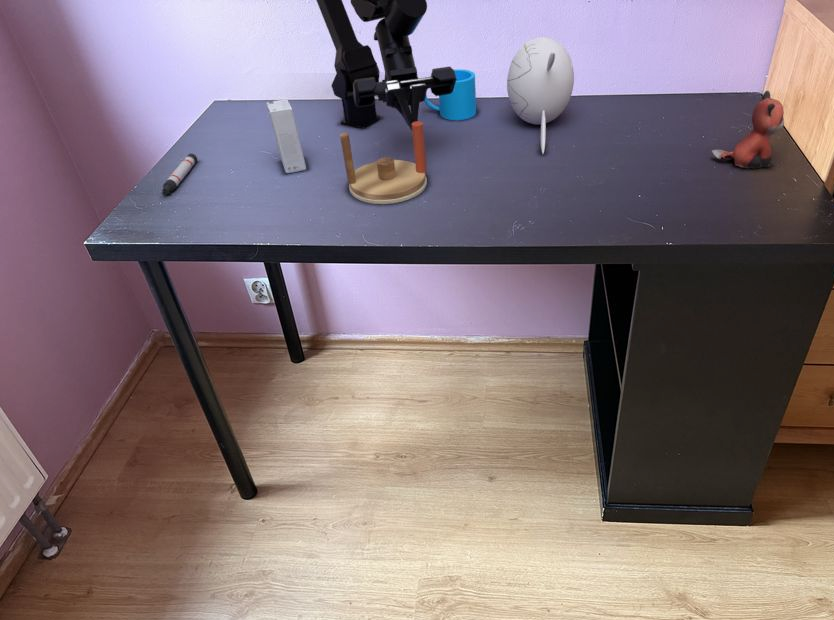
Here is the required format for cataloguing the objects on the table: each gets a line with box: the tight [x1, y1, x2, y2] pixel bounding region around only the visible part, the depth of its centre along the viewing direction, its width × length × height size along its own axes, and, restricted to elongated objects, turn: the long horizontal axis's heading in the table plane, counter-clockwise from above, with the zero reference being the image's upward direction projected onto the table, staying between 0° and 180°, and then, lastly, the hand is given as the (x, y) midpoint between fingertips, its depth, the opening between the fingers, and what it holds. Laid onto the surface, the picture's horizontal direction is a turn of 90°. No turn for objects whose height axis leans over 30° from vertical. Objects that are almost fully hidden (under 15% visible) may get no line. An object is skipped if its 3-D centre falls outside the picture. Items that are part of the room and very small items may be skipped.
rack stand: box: [348, 175, 428, 205], centre depth 122 cm, size 14×14×1 cm
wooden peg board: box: [339, 120, 428, 200], centre depth 119 cm, size 14×14×10 cm
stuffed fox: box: [711, 90, 785, 170], centre depth 120 cm, size 8×11×12 cm
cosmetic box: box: [266, 98, 307, 174], centre depth 126 cm, size 6×4×12 cm
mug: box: [423, 68, 477, 121], centre depth 145 cm, size 12×8×8 cm
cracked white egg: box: [506, 36, 575, 155], centre depth 134 cm, size 19×14×25 cm
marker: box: [161, 153, 198, 195], centre depth 127 cm, size 15×2×2 cm, turn 178°
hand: (414, 130), depth 121 cm, fingers closed
